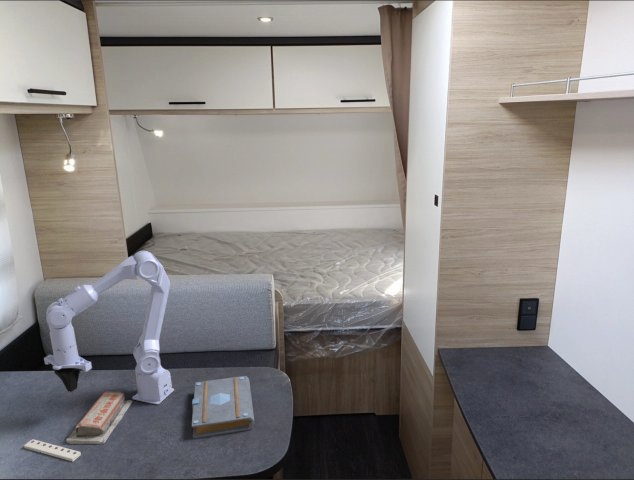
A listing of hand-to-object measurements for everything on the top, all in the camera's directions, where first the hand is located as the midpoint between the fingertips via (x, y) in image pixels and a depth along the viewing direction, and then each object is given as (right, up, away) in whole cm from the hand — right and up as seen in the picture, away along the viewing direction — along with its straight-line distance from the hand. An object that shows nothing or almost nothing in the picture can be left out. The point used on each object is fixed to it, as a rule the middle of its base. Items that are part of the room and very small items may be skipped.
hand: (72, 389), depth 128 cm
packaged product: (+8, -9, -1) cm, 13 cm away
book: (+41, -8, +4) cm, 42 cm away
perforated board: (+1, -12, -12) cm, 17 cm away
